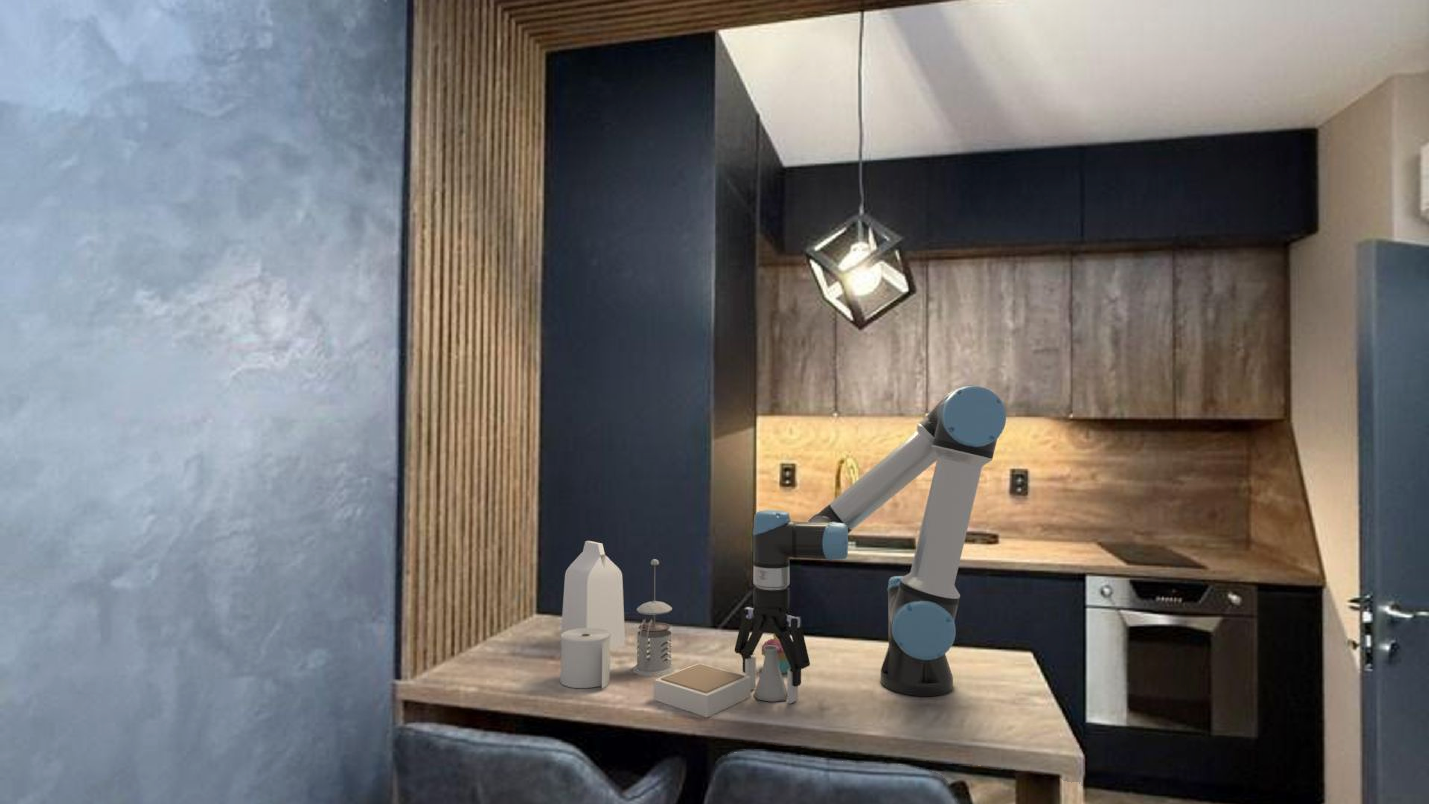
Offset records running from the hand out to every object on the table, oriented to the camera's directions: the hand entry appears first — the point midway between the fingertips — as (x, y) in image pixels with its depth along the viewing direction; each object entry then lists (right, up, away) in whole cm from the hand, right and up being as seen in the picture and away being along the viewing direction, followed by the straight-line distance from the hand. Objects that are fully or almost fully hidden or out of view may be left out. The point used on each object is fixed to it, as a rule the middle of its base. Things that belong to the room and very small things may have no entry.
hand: (771, 695), depth 152 cm
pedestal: (-14, 0, -1) cm, 14 cm away
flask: (0, 0, 0) cm, 0 cm away
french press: (-26, -1, +16) cm, 30 cm away
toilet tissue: (-39, -1, +9) cm, 40 cm away
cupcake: (+3, -1, +17) cm, 17 cm away
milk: (-42, -2, +35) cm, 55 cm away
